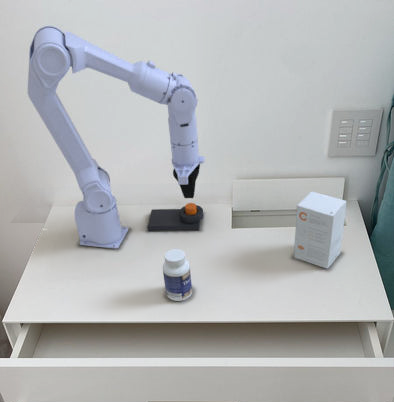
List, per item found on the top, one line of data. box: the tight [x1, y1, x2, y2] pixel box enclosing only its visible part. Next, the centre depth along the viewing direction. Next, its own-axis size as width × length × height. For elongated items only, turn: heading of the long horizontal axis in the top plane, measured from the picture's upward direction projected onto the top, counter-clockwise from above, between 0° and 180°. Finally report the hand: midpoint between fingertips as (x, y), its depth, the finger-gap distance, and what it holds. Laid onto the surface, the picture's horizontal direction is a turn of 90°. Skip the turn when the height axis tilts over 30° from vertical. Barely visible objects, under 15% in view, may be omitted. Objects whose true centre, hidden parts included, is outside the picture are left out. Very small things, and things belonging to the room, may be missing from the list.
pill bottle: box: [162, 248, 193, 302], centre depth 114 cm, size 5×5×10 cm
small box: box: [293, 190, 348, 270], centre depth 118 cm, size 8×6×13 cm
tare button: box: [184, 202, 197, 215], centre depth 132 cm, size 3×3×2 cm
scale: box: [147, 204, 204, 232], centre depth 134 cm, size 13×7×3 cm, turn 85°
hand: (189, 196), depth 129 cm, fingers closed
